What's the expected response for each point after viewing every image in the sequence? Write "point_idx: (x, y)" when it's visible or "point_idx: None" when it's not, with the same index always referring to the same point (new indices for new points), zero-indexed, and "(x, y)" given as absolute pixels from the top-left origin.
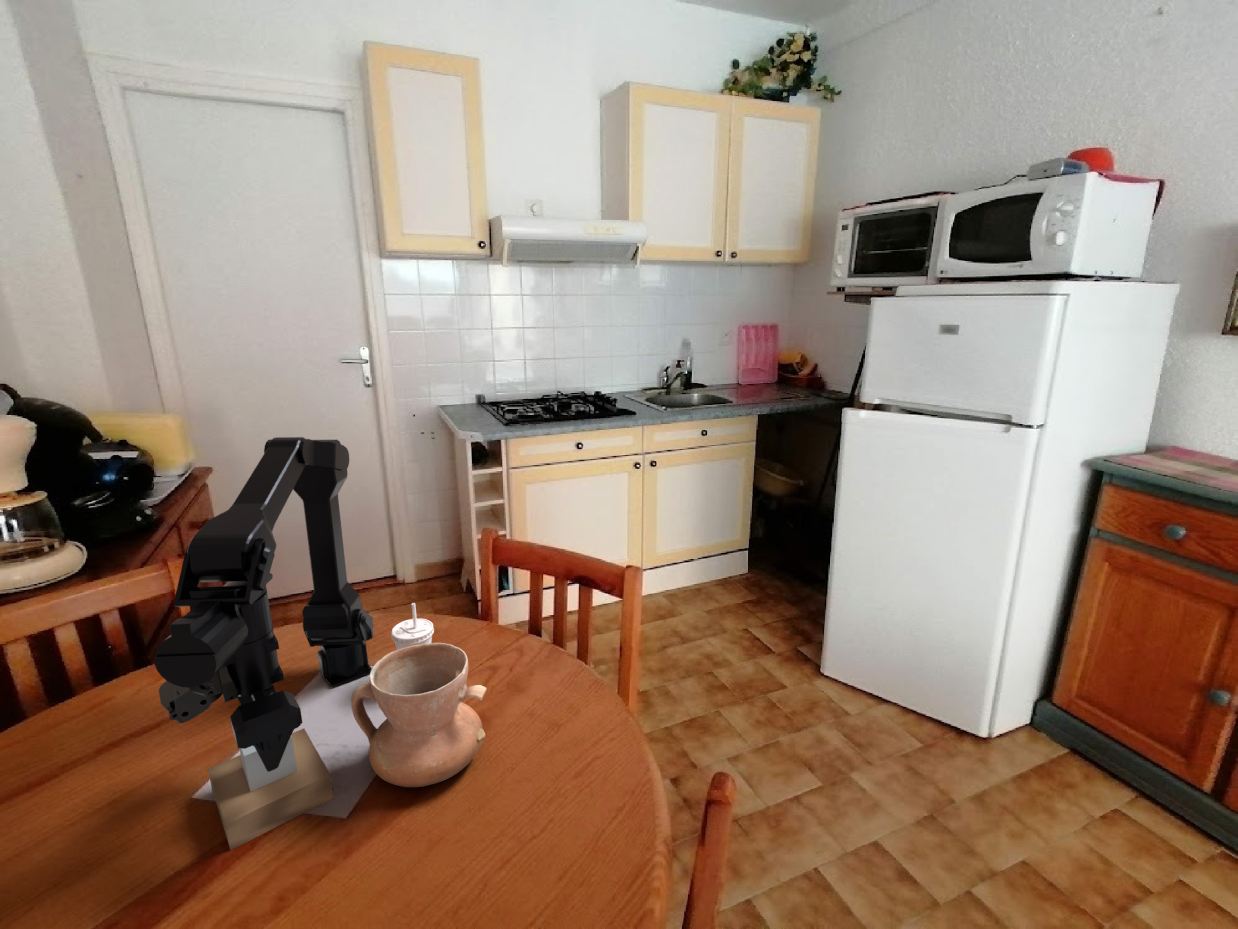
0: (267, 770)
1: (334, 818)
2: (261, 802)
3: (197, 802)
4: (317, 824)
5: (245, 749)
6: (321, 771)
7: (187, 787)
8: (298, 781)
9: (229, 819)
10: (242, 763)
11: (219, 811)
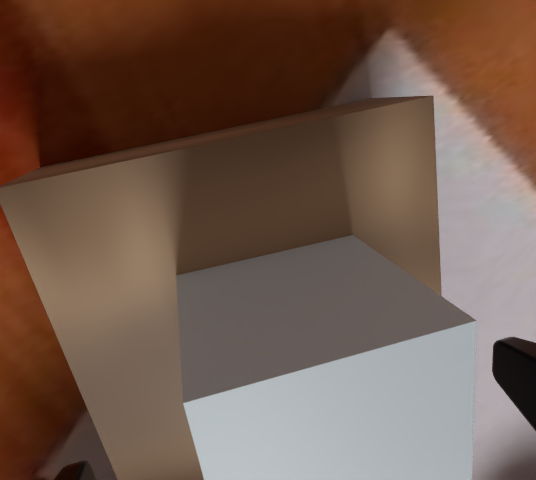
0: (57, 477)
1: (50, 448)
2: (81, 322)
3: (350, 49)
4: (45, 408)
5: (261, 398)
6: None
7: (448, 12)
8: (150, 434)
9: (26, 204)
10: (351, 249)
11: (215, 134)
